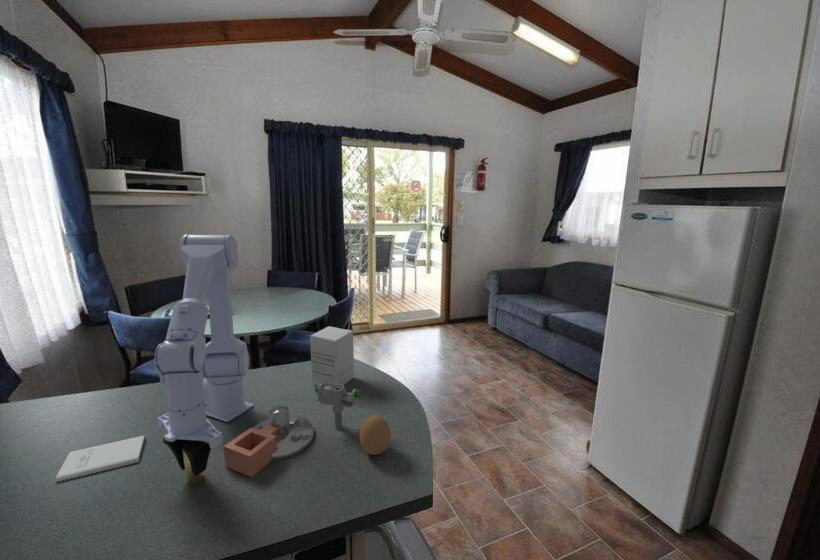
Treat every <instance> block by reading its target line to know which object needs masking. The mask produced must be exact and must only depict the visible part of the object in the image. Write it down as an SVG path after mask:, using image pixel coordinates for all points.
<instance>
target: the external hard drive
mask: <svg viewBox="0 0 820 560" xmlns="http://www.w3.org/2000/svg"><path fill="white" fill-rule="evenodd" d="M145 441H146V435H144V434H143V435H141V436H140V435H139V436H135V437H131V438H126V439H123V440H118V441H114V442H109V443H105V444H100V445H96V446H95V445H94V446H92V447H87V448H82V449H78V450H73V451H70V452H69V453H68V454H67V456H66V458H65V460H64V462H63V464H62V465H61V467H60V469H59V471H58V472H57V474H56V476H55V481H56V483H58V482H57V481H60V482H63V481H62V480H64V481H66V480H65V479H68V480H71V479H70V478H72V479H76V478H79V476H80V477H83V476H89V475H92V474H91V473H93V474H96V472H97V473H99V472H103V471H104V470H105V471H108V470H111V469H112V468H113V469H116V468H121V467H125V466H128V465H132V464H137V463H139V462H140V460H141V456H142V452H143V448H144V445H145V443H146V442H145ZM88 474H89V475H88ZM75 477H76V478H75Z"/></svg>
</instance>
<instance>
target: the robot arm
mask: <svg viewBox="0 0 820 560" xmlns="http://www.w3.org/2000/svg"><path fill="white" fill-rule="evenodd" d="M179 255H180V257H181V259H182V262H183V265H184V266H185V268H186V270H185V272H186V273H185V278H184V284H183V287H184V288H183V292H182V293H183V294H182V300H180V301H177V303H175V304H174V305H173V308H172V312H171V316H170V319H169V324H168V328H167V332H166V336H165V340H164V341H163V342H161V343H159V344H158V345H157V347H156V349H155V351H154V362H153V366H154V369H155V371H156V373H157V375H158V376H159V382H160V383H161V385H164V390H165V398H166V408H167V412H166V413H164V414H163V415H161V416H159V417H157V425H158V428H160V429H165V431H166V432H167V433H166V434H164V437H163V438H162V441H163V443H164V445H166V446H167V447H168V448H169V450H170V451H171V452H172V453H173V455H174V457H175V459H176V461H177V464H178V466H179V467H180V469H181V470H182V471H185V466H184V458H183V451H184V452H185V453H186V455H187V456H188V458H189V461H190V465H191V469H192V472H193V474H194V475H195V476H198V475H199V474H200V473H202V472H203V473H204V471H206V470H207V466H208V463H209V462H208V460H209V458H210V457H209V456H210V454H211V451H212V449H216V448H217V447H218V446H219V445H221V444H223V443H224V439H223V432H221V431H219V430H217V428H216V427H215V426H214V425H213V424H212V423H211V421H210V420H209V419H208V417H211V418H213V419H217V420H220V421H222V422H225V423H229V422H230V421H232V420H233V419H235V418H237V417H239V415H242V414H244V413H245V412H247V411H248V410H249V409H251V408H252V407H254V404H253V403H251V402H247V401H245V388H244V387H245V386H244V376H246V375H247V373H248V372H249V368H250V355H249V352H248V345H247V342H244V341H243V340H240V339H239V338H237V337H235V335H234V334H235V333H234V320H233V319H234V318H233V305H232V289H231V272H232V271H234V270H236V269H238V264H239V259H238V258H239V256H238V255H239V254H238V245H237V241H236V238H235V236H233V235H232V234H230V233H229V234H228V233H227V234H190V233H185V234H183V236H182V237H181V239H180V242H179ZM207 297H208V298H207ZM206 298H207V299H208V307H207V305H206V304H205V301H206ZM208 316H209V327H210V341H208V342H207V343H206V340H207V339H206V338H205V337H204V336H205V331H206V325H207V322H208ZM207 416H208V417H207ZM189 441H190V442H189ZM187 442H188V443H187ZM185 443H187V444H185ZM184 444H185V445H184Z"/></svg>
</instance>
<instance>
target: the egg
mask: <svg viewBox="0 0 820 560" xmlns="http://www.w3.org/2000/svg"><path fill="white" fill-rule="evenodd" d="M359 431H360V432H359V443H360V446H361V447H362V449H363V450H364V451H365V452H366V453H367V454H370V455H373V456H377V455H380V454H382V453H384V452H385V451H386V450H387V448H388V447H389V446H390V443H391V436H392V433H391V429H390V426H389V423H388V422H387V420H386V419H385V418H384V417H383V416H381V415H376V414H375V415H371V416H369V417H368V418H366V419H365V421H364V422H363V423H362V425H361V428H360V430H359Z"/></svg>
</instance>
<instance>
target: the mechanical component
mask: <svg viewBox="0 0 820 560" xmlns="http://www.w3.org/2000/svg"><path fill="white" fill-rule="evenodd" d="M314 391H315V393H317V400H318V401H319V403H320V404H323V405H327V406H329V405H330V406H332V408H331V410H332V411H333V412H334V428H335V430H339V429H341V427H342V425H343V423H342V422H343V416H342V414H343V413H342V411H344V409H345V408H352V407H353V406H354V405H355V403H356V401H358V399H359V398H360V396H361V390H358V389H357V388H353V389H352V391H351V392H348V391H346V388H345V385H344V386H343V385H337V384H329V383H322V384H321V385H320V386H319V385H315V389H314Z"/></svg>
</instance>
